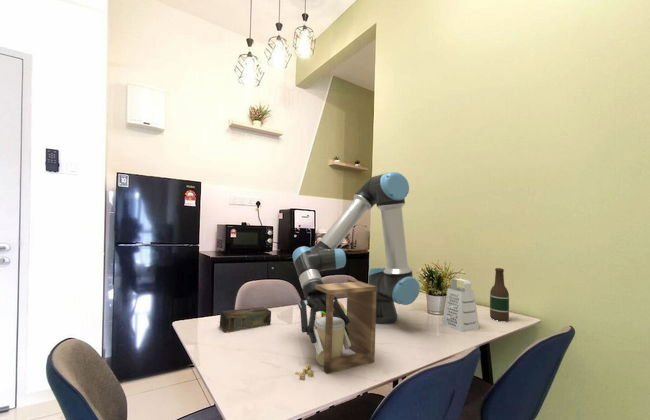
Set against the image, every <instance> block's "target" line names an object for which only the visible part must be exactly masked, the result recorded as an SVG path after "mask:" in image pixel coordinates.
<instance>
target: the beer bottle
mask: <svg viewBox="0 0 650 420" xmlns="http://www.w3.org/2000/svg"><path fill="white" fill-rule="evenodd" d="M494 271H495V274H494V275H495V277H494V283H493V284H494V285H493V286H492V287H491V289H490V292H489V293H490V294H489V317H491V318H492V319H491V318H490V319H491V320H493V319H494V320H493V321H496V320H498V321H497V322H501V321H507V322H509V319H510V295H509V290H508V288H507V287H506V286H505V278H504V277H505V276H504V275H505V274H504V272H505V270H504V268H501V267H500V268H499V267H496V268H495V269H494Z"/></svg>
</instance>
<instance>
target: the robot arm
mask: <svg viewBox="0 0 650 420" xmlns="http://www.w3.org/2000/svg"><path fill="white" fill-rule="evenodd" d="M409 193H410V185H409V181H408V180H407V177H406V176H405V175H403V174H402V173H400V172H399V171H391V172H390V171H389V172H385V173H381V174H378V175H375V176H372V177H370V178H369V179H367V180H366V181H365V182H364V183H363V185H362V186H361V187H360V188H359V189H358V190H357V191H356V192H355V194H354V195H353V200H352V201H351V202H350V204H349V205H348V206H347V207H346V208H345V209H344V210H343V212H342V213H341V214H340V216H339V217H338V218H337V219H336V220H335V222H334V223H333V224H332V225H331V226H330V228H329V229H328V230H327V232H325V234H324V235H323V236H322V238H321V239H319V241H318V242H317V243H316V244H315V245H314V246H311V247H309V246H305V245H304V246H299V247H297V248H295V250H294V251H293V253H292V260H293V265H294V267H295V270H296V273H297V276H298V280H299V283H300V286H301V289H302V292H303V296H304V299H305V300H304V299H300V300H299V303H298V304H297V306H298V307H299V310H300V327H301V332H302V333H306V334H307V335H308V336H309V339H310V342H311V344H314V347H315V352H316V351H317V354H318V355H320V354H321V353H322V352H323V348H322V345H321V341H320V338H319V335H318V332H317V329H316V330H315V322H316V319H317V318H316V317H317V313H319V311H324V312H325V313H326V295H327V294H326V293H324V292H322V291H320V290H317V289H315V286H316V285H319V284H324V281H323V278H322V276H321V274H320V272H324V271H325V272H326V271H330V270H338V269H341V268H344V267H345V266H346V263H347V257H346V252H345V251H344V250H343V249H342V248H338V246H339V245H340V244H341V243H342V242H343V240H344V239H345V238H346V237H347V235H348V234H349V233H350V231H352V230H353V228H354V227H355V225H356V224H358V222H359V220H360V219H361V218H362V217H363V216H364V214H365V213H366V212H367V211H370V210H371V209H372V208H373V207H374V206H375V205H376V208H378V209H379V210H380V215H381V224H382V226H381V227H382V233H383V235H382V236H383V244H384V253H385V262H386V267H371V268H369V270H368V284H370V285H373V286H377V288H376V324H383V325H384V324H385V325H387V324H388V325H389V324H394V323H397V322H398V320H399V319H398V315H399V314H398V313H397V308H396V306H395V303H396V304H397V305H402V306H408V305H410V304H412V303H414V302H415V301H416V300H417V298H418V297H419V294H420V292H421V291H420V289H421V288H420V287H421V286H420V283H419V281H418V280H417V279H416V277H413V274H414V273H413V269H412V268H411V267H410V266H409V264H408V263H409V262H408V255H407V247H406V245H407V244H406V237H405V226H404V218H403V217H404V216H403V207H404V206H405V205H406V201H405V200H406V197H407V196H408V194H409ZM338 302H339V301H338V296H334V300H333V317H337V318H341V319H343V320H344V323H345V328H344V340H343V348H344V350H345V351H346V350H349V347H350V346H351V344H350V341H349V338H348V336H349V333H348V331H347V328H346V325H347V324H348V323H349V322H350V321H349V319H348V317H347V313H344V311H343V309H342V308H341V306H340V305H339V303H338ZM307 306H308V307H309V309H310V312H309V320H308V312H307ZM334 310H335V311H334Z"/></svg>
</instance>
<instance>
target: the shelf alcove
mask: <svg viewBox="0 0 650 420" xmlns="http://www.w3.org/2000/svg"><path fill="white" fill-rule="evenodd" d="M376 288H377V286H373V285H370V284H369V283H366V282H363V281H360V280H357V279H354V278H347V282H336V283H334V282H333V283H323V284H319V285H316V286H315V289H317V290H320V291H322V292H324V293H326V294H327V295H326V323H325V352H324V366H323V372H324V373H325V374H330V373H334V372H339V371H344V370H347V369H351V368H356V367H359V366H360V367H361V366H364V365H368V364H372V363H375V357H376V355H375V354H376V327H377V326H376V324H377V323H376ZM339 294H346V316H347V317H348V319H349V321H350V322H349V323H348V324H347V325H346V328H347V331H348V333H349V336H348V338H349V341H350V344H351V346H350V347H349V348H348V350H350V351H351V352H353V354H348V355H342V357H338V358H333V359H332V329H333V300H334V297H335V296H334V295H339Z"/></svg>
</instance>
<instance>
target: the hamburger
mask: <svg viewBox="0 0 650 420" xmlns="http://www.w3.org/2000/svg"><path fill="white" fill-rule="evenodd" d="M338 303H339V305H340V306H341V308H342V309H343V311H344V313H345V314H347V309H346V308H345V307H344V305H343V303H342V302H340V301H338ZM334 311H335V310H334ZM319 312H320V314H321V316H320V317H326V313H325V312H324V311H319ZM319 312H318V313H319Z"/></svg>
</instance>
